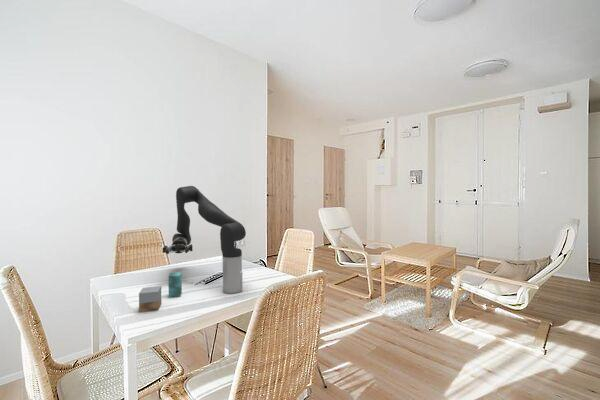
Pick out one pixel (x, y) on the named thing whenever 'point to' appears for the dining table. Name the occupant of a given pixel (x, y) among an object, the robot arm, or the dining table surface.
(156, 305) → the walnut slab
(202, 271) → the dining table surface
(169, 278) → the teal pillar
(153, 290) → the grey slab
